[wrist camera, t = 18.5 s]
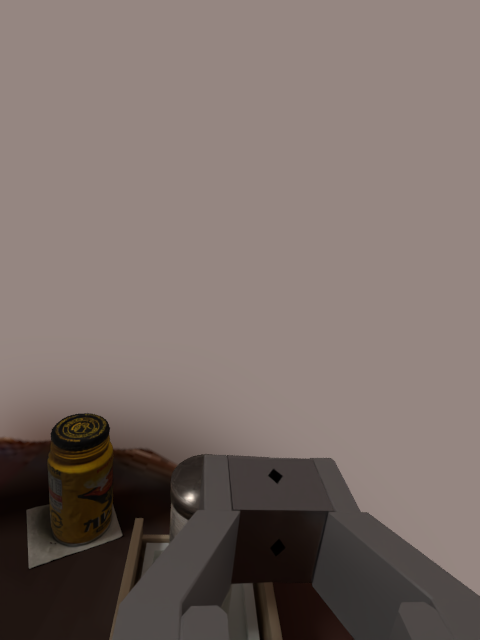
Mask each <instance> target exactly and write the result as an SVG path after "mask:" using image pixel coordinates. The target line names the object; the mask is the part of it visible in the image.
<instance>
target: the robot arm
mask: <svg viewBox="0 0 480 640" xmlns="http://www.w3.org/2000/svg"><path fill="white" fill-rule="evenodd" d="M267 582H279V583H312V586H313V587H314V589H315V590H316V591H317V592H318V594H319V595H320V596H321V598H322V599H323V600H324V601H325V603H326V604H327V605H328V606H329V608H330V609H331V610H332V612H333V613H334V614H335V615H336V617H337V618H338V619H339V620H340V622H341V623H342V624H343V625H344V627H345V628H346V629H347V631H348V632H349V633H350V634H351V636H352V637H353V638H354V639H355V640H480V596H478V595H477V594H476V593H475V592H473V591H472V590H471V589H469V588H468V587H467V586H465V585H464V584H462V583H461V582H460V581H458V580H457V579H456V578H454V577H453V576H452V575H450V574H449V573H448V572H446V571H445V570H444V569H442V568H441V567H440V566H438V565H437V564H436V563H434V562H433V561H432V560H430V559H429V558H428V557H426V556H425V555H424V554H422V553H421V552H420V551H418V550H417V549H416V548H414V547H413V546H412V545H410V544H409V543H407V542H406V541H405V540H403V539H402V538H401V537H400V536H398V535H397V534H395V533H394V532H393V531H392V530H390V529H389V528H388V527H386V526H385V525H383V524H382V523H381V522H380V521H378V520H377V519H375V518H374V517H373V516H372V515H370V514H369V513H367V512H360V510H359V508H358V506H357V504H356V502H355V500H354V498H353V496H352V494H351V492H350V490H349V488H348V486H347V484H346V483H345V480H344V479H343V477H342V475H341V473H340V471H339V469H338V467H337V465H336V463H335V461H334V460H332V459H331V458H310V459H297V458H269V457H251V456H233V455H227V456H226V455H207V454H205V455H204V459H203V469H202V480H201V490H200V502H199V510H197V511H196V512H195V513H194V515H193V516H192V517H191V518H190V519H189V521H188V522H187V523H186V524H185V526H184V527H183V528H182V529H181V530H180V532H179V533H178V534H177V535H176V536H175V538H174V539H173V540H172V541H171V543H170V544H169V545H168V546H167V547H166V549H165V550H164V551H163V552H162V553H161V555H160V556H159V557H158V558H157V559H156V561H155V562H154V563H153V564H152V566H151V567H150V568H149V569H148V570H147V572H146V573H145V574H144V575H143V576H142V578H141V579H140V580H139V581H138V583H137V584H136V585H135V586H134V587H133V589H132V590H131V591H130V592H129V593H128V595H127V596H126V597H125V598H124V599H123V601H122V602H121V603H120V604H119V609H118V614H117V618H116V623H115V627H114V632H113V637H112V640H229V632H228V617H227V613H226V612H224V611H223V610H222V609H221V606H222V604H223V601H224V599H225V597H226V595H227V593H228V591H229V589H230V587H231V584H243V583H267Z"/></svg>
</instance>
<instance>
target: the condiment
mask: <svg viewBox="0 0 480 640" xmlns="http://www.w3.org/2000/svg"><path fill="white" fill-rule="evenodd" d="M109 430H110V427H109V424H108V422H107V421H106V419H104V418H103V417H101V416H98V415H95V414H75V415H71V416H68V417H66V418H64V419H62V420H61V421H60V422H58V423H57V424H56V425H55V427H54V428H53V429H52V432H51V440H52V442H51V450H50V452H49V454H48V461H47V464H48V478H49V502H50V504H48V505H44V506H39V507H35V508H32V509H28V510H26V511H27V533H28V557H29V569H30V568H32V567H35V566H37V565H40V564H44V563H47V562H49V561H51V560H54V559H58V558H61V557H63V556H66V555H70V554H72V553H76V552H80V551H83V550H86V549H88V548H91V547H94V546H97V545H100V544H103V543H106V542H108V541H112V540H114V539H117V538H119V537H121V536H123V535H122V532H121V529H120V526H119V523H118V520H117V516H116V513H115V510H114V506H113V457H114V456H113V447H112V444H111V442H110V437H109ZM50 542H52V543H53V544H50ZM54 543H57V544H56V545H55V544H54Z"/></svg>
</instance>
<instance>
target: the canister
mask: <svg viewBox="0 0 480 640" xmlns="http://www.w3.org/2000/svg"><path fill="white" fill-rule="evenodd" d="M204 455H205V454H204ZM204 455H197V456H193V457H190V458H188V459H186V460H184V461H183V462H181V463H180V464H179V465H178V466H177V467H176V468H175V470H174V471H173V474H172V477H171V491H170V498H171V517H170V534H169V544H170V543H171V541H172V540H173V539H174V538H175V536H176V535H177V534H178V533H179V532H180V530H181V529H182V528H183V527H184V526H185V524H186V523H187V522H188V521H189V519H190V518H191V517H192V516H193V515H194V513H195V512H196V511H197V510H199V502H200V490H201V480H202V469H203V459H204ZM207 455H212V454H207ZM231 592H232V584H231V587H230V589H229V591H228V593H227V595H226V597H225V599H224V601H223V604H222V606H221V609H222V610H223V611H224V612H226V613H227V617H228V614H229V607H230V599H231Z"/></svg>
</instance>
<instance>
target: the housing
mask: <svg viewBox="0 0 480 640" xmlns="http://www.w3.org/2000/svg"><path fill="white" fill-rule="evenodd" d="M147 543H169V535H143V518H136V519H135V524H134V529H133V533H132V538H131V542H130V547H129V551H128V556H127V561H126V565H125V570H124V574H123V579H122V584H121V588H120V593H119V597H118V602H117V607H116V611H115V616H114V620H113V625H112V629H111V634H110V639H109V640H112V637H113V632H114V627H115V623H116V618H117V614H118V609H119V604H120V603H121V602H122V601H123V599H124V598H125V597H126V596H127V595H128V593H129V592H130V591H131V590H132V589H133V587H134V586H135V585H136V584H137V583H138V581H139V580H140V579H141V574H142V568H143V562H144V556H145V550H146V544H147ZM253 591H254V599H255V607H256V615H257V623H258V631H259V639H260V640H282V634H281V628H280V623H279V617H278V611H277V606H276V600H275V595H274V589H273V583H272V582H267V583H253Z"/></svg>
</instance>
